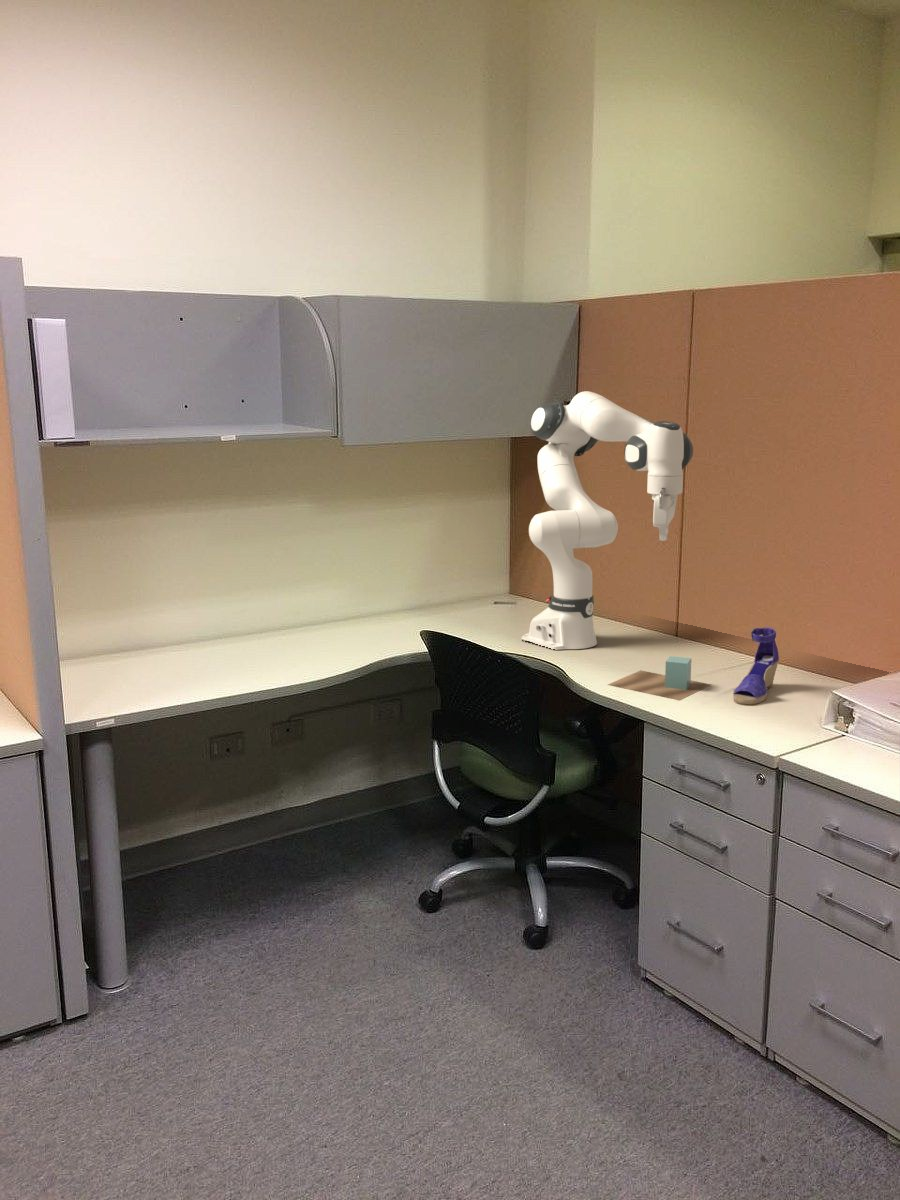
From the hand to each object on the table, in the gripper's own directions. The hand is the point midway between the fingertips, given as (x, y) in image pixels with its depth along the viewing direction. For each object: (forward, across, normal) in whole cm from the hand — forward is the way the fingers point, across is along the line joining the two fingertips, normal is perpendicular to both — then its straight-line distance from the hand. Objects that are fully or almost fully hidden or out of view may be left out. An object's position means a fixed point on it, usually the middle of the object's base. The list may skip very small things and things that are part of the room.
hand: (663, 540), depth 258 cm
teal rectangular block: (+33, -18, -6) cm, 38 cm away
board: (+34, -18, -2) cm, 39 cm away
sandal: (+34, -18, -25) cm, 46 cm away
